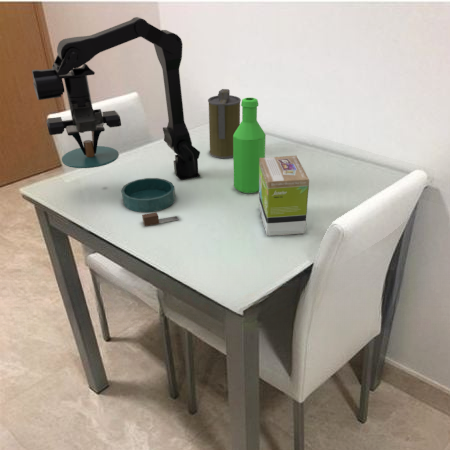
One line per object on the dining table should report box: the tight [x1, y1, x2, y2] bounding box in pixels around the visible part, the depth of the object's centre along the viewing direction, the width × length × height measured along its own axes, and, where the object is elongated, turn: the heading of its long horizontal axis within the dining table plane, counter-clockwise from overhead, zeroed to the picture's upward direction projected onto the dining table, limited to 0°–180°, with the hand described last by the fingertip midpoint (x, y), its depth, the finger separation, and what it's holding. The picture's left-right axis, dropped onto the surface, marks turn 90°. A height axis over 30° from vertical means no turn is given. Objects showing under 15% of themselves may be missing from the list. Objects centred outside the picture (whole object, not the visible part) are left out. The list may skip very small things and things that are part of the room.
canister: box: [207, 88, 242, 159], centre depth 161 cm, size 11×10×20 cm
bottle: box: [232, 97, 266, 194], centre depth 137 cm, size 9×9×25 cm
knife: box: [141, 211, 179, 227], centre depth 128 cm, size 9×2×2 cm, turn 110°
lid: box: [61, 139, 120, 169], centre depth 136 cm, size 15×15×5 cm
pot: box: [120, 177, 176, 213], centre depth 138 cm, size 14×14×4 cm
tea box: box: [258, 155, 310, 237], centre depth 123 cm, size 15×10×15 cm, turn 5°
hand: (89, 153), depth 136 cm, fingers closed on lid, 2 cm apart
